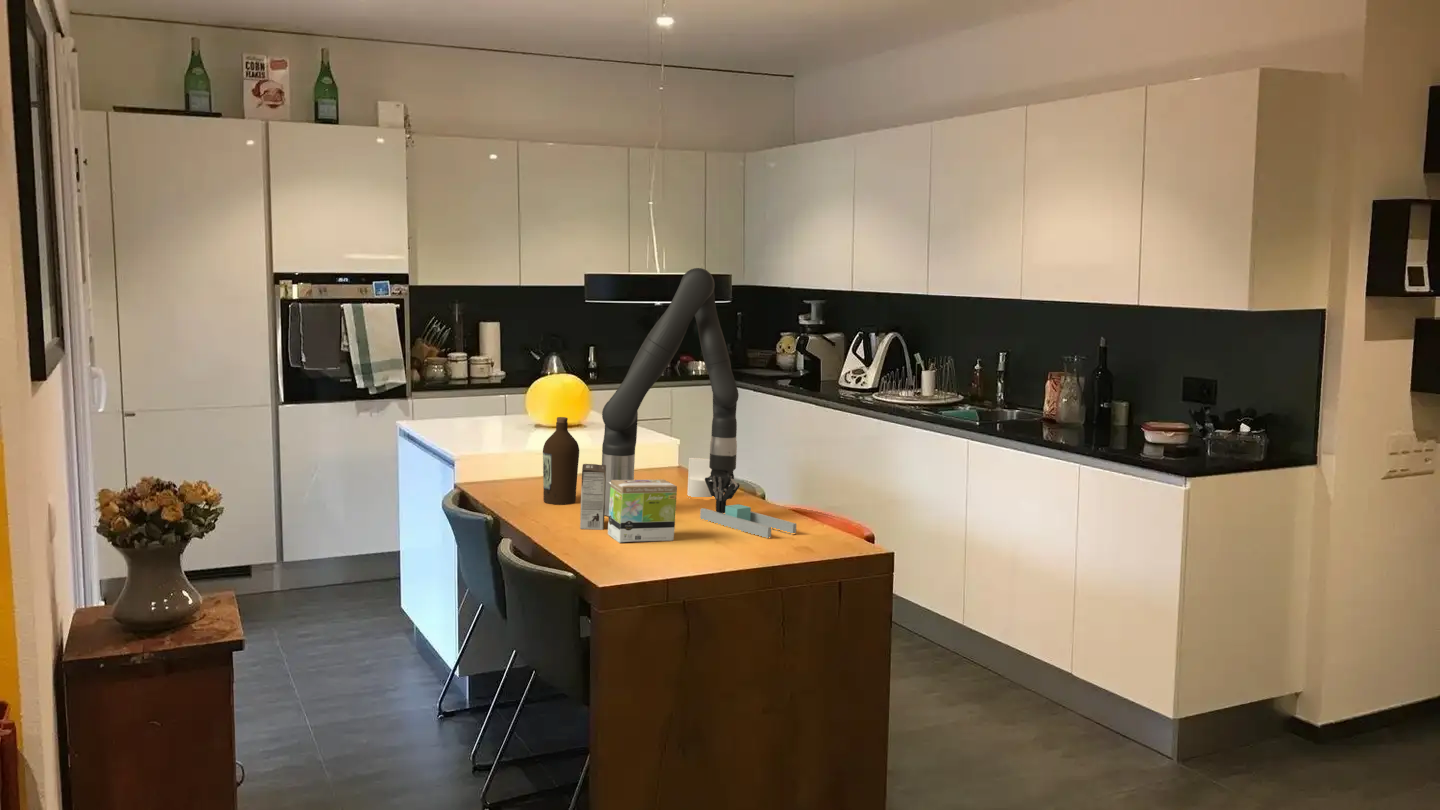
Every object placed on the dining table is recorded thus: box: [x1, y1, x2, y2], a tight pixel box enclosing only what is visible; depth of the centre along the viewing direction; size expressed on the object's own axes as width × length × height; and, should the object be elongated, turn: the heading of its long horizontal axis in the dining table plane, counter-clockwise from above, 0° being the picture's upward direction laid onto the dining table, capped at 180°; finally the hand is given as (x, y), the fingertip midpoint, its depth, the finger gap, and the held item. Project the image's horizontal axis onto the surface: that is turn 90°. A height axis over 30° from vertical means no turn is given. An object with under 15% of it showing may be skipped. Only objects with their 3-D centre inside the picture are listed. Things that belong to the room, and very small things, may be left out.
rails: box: [699, 504, 797, 539], centre depth 316 cm, size 10×28×3 cm, turn 40°
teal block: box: [724, 503, 752, 521], centre depth 319 cm, size 5×5×5 cm
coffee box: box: [579, 463, 606, 531], centre depth 307 cm, size 9×6×16 cm
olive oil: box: [542, 416, 580, 506], centre depth 337 cm, size 11×11×25 cm
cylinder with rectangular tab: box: [686, 457, 715, 497], centre depth 355 cm, size 9×9×12 cm
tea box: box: [607, 478, 678, 544], centre depth 295 cm, size 15×10×15 cm, turn 114°
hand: (720, 512), depth 324 cm, fingers closed
